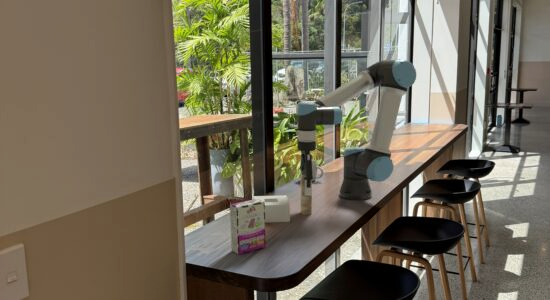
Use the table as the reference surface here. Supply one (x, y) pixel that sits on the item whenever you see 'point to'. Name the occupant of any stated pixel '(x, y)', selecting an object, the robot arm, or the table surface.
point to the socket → (276, 208)
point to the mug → (314, 170)
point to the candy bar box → (247, 226)
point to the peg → (305, 197)
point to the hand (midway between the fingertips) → (305, 190)
